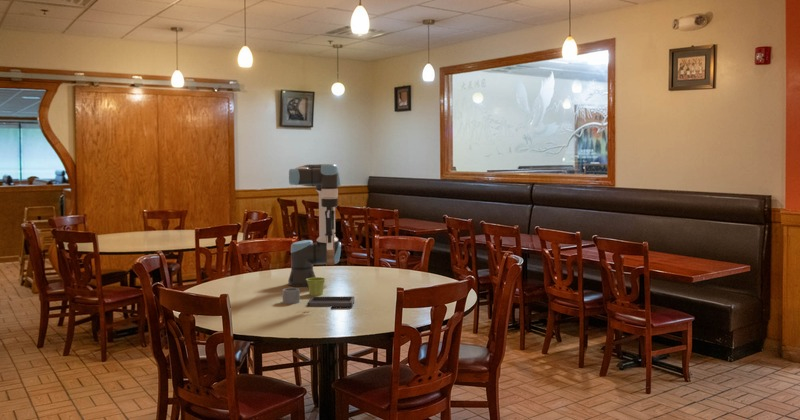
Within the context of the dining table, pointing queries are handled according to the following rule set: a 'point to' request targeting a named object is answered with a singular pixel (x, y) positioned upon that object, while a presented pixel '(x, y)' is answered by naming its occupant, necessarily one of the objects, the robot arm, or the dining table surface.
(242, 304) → the dining table surface
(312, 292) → the plant pot
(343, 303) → the tray
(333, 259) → the dowel
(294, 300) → the cup
